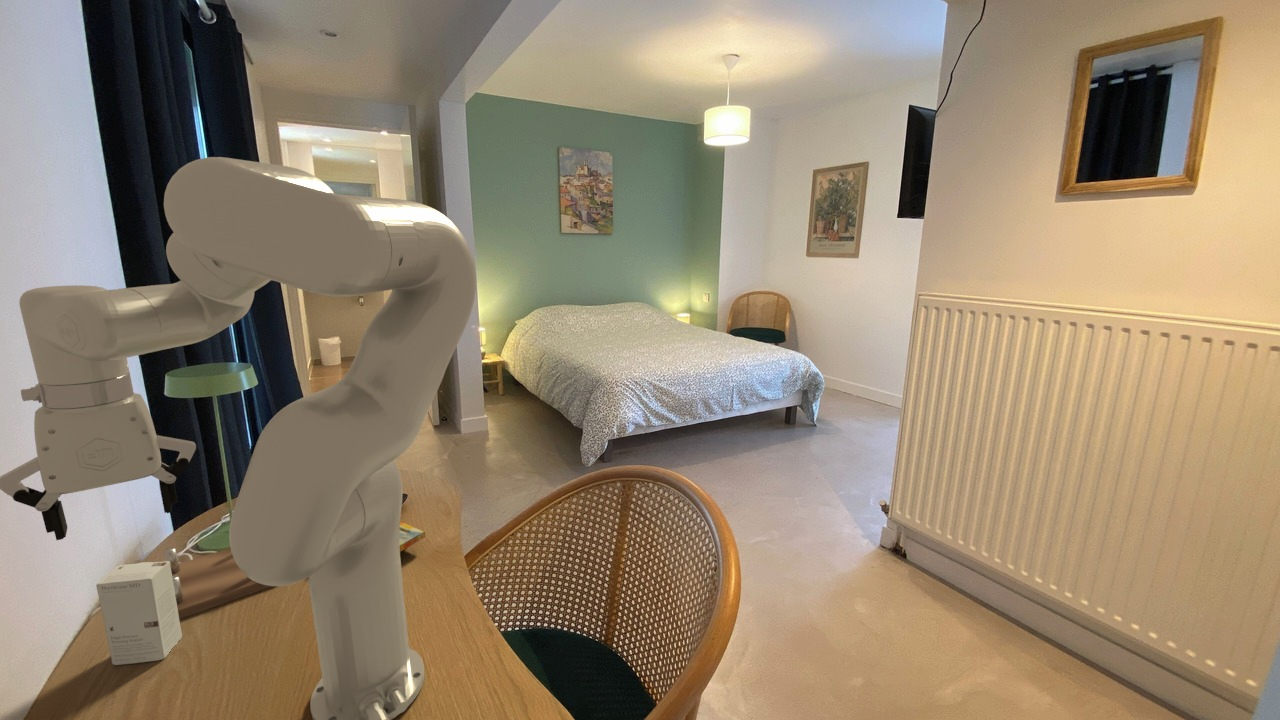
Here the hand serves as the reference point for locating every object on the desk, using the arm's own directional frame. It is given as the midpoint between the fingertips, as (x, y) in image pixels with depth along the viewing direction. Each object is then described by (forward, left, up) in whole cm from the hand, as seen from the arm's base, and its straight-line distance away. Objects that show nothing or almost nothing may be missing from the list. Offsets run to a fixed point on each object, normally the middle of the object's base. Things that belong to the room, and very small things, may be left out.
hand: (117, 521), depth 67 cm
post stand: (+12, -8, -19) cm, 24 cm away
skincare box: (0, 0, -20) cm, 20 cm away
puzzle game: (+7, -28, -20) cm, 35 cm away
